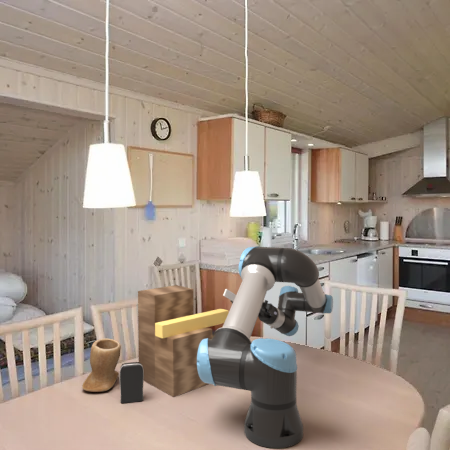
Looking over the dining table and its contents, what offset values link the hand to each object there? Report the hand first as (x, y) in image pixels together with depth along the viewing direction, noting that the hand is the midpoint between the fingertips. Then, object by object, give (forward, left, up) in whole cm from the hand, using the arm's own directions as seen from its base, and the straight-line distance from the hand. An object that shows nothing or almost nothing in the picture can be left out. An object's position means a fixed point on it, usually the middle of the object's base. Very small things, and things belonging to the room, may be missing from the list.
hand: (237, 294), depth 159 cm
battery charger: (-38, +20, -26) cm, 51 cm away
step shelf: (-20, +15, -26) cm, 36 cm away
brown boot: (-32, +35, -27) cm, 54 cm away
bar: (-19, +8, -8) cm, 22 cm away
